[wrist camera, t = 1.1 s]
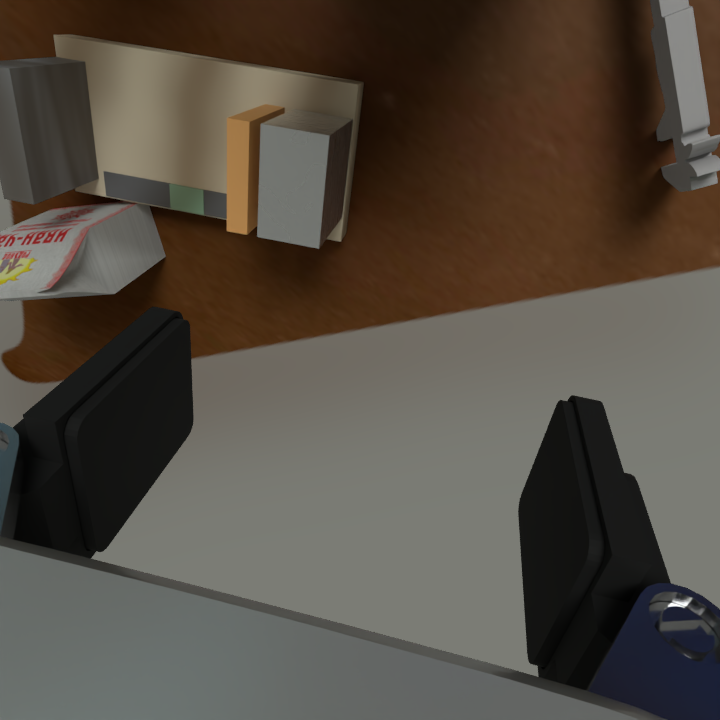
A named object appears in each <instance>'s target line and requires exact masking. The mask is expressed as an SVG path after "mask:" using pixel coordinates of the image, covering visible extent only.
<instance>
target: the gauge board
mask: <svg viewBox="0 0 720 720" xmlns="http://www.w3.org/2000/svg"><path fill="white" fill-rule="evenodd" d="M54 42H55V50H56V57H48V58H34V59H21V60H7V61H0V180H1V185H2V190H3V195H4V199H8V200H14V201H19V202H24V203H29V204H37V203H39V202H42V201H44V200H47V199H49V198H52V197H54V196H57V195H59V194H62V193H64V192H67V191H69V190H72V189H74V188H75V191H77V192H82V193H88V194H93V195H98V196H103V197H109V198H114V199H119V200H124V201H130V202H135V203H140V204H145V205H151V206H156V207H161V208H166V209H172V210H177V211H182V212H187V213H193V214H198V215H203V216H208V217H214V218H219V219H224V220H227V118H228V117H231V116H234V115H236V114H239V113H242V112H245V111H247V110H250V109H253V108H256V107H259V106H261V105H264V104H268V105H274V106H280V107H285V112H284V113H286V112H289V111H291V110H293V109H298V110H304V111H310V112H316V113H322V114H327V115H333V116H339V117H345V118H351V119H353V124H352V133H351V142H350V151H349V160H348V169H347V178H346V187H345V196H344V205H343V214H342V218H341V220H340V221H339V222H338V224H337V225H336V227H335V228H334V229H333V231H332V232H331V233H330V235H329V236H328V237H327V239H329V240H334V241H339V242H341V240H342V239H343V237H344V236H345V234H346V231H347V222H348V214H349V205H350V197H351V188H352V180H353V171H354V163H355V154H356V146H357V137H358V129H359V121H360V112H361V104H362V95H363V87H364V82H361V81H355V80H348V79H342V78H336V77H330V76H324V75H318V74H312V73H305V72H299V71H293V70H287V69H281V68H275V67H269V66H262V65H256V64H250V63H244V62H238V61H232V60H226V59H219V58H213V57H207V56H201V55H195V54H189V53H183V52H176V51H170V50H164V49H158V48H152V47H146V46H139V45H133V44H127V43H121V42H115V41H109V40H103V39H96V38H90V37H84V36H78V35H72V34H70V35H54Z"/></svg>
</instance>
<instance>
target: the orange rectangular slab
mask: <svg viewBox="0 0 720 720" xmlns="http://www.w3.org/2000/svg"><path fill="white" fill-rule="evenodd" d="M284 112H285V107H280V106H274V105H268V104H264V105H261V106H259V107H256V108H253V109H250V110H247V111H245V112H242V113H239V114H236V115H234V116H231V117H228V118H227V231H229V232H234V233H240V234H245V235H247V234H249V233H250V232H251V231H252V230H253V229H254V228H255V227H257V226H258V194H259V162H260V129H261V123H264V122H266V121H268V120H270V119H273V118H275V117H277V116H279V115H282V114H284Z"/></svg>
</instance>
